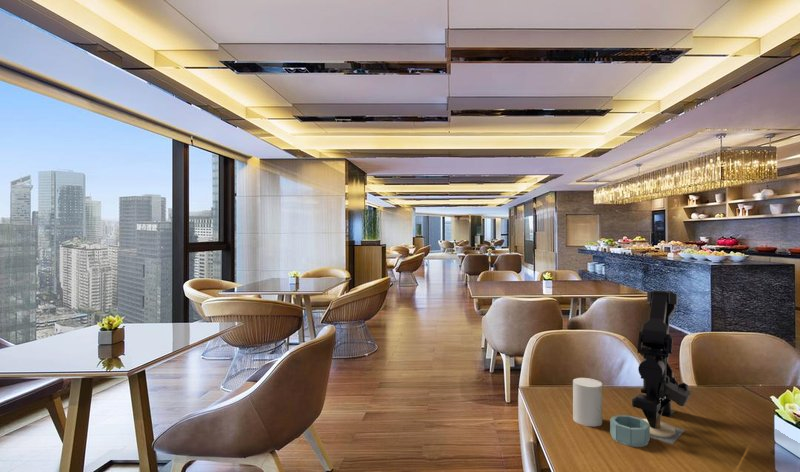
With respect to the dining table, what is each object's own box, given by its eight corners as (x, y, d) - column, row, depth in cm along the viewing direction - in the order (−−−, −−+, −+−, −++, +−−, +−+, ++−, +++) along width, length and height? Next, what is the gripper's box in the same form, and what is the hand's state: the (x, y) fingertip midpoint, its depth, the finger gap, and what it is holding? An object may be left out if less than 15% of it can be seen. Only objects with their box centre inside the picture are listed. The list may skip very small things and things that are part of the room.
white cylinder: (605, 428, 125) (605, 387, 125) (575, 426, 127) (575, 386, 127) (598, 417, 133) (598, 378, 133) (570, 415, 135) (570, 377, 135)
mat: (639, 418, 132) (639, 417, 132) (684, 431, 124) (684, 430, 124) (624, 430, 124) (624, 429, 124) (672, 445, 115) (672, 444, 115)
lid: (641, 419, 131) (641, 404, 131) (679, 429, 124) (679, 414, 124) (629, 429, 124) (629, 413, 124) (669, 441, 117) (669, 425, 117)
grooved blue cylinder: (618, 429, 125) (618, 412, 125) (653, 440, 118) (653, 422, 118) (606, 439, 119) (606, 421, 119) (641, 451, 112) (641, 432, 112)
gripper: (677, 387, 111) (677, 447, 112) (696, 371, 124) (696, 424, 124) (631, 376, 120) (631, 432, 120) (653, 362, 132) (653, 413, 132)
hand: (654, 425), depth 124 cm, fingers closed on lid, 3 cm apart
